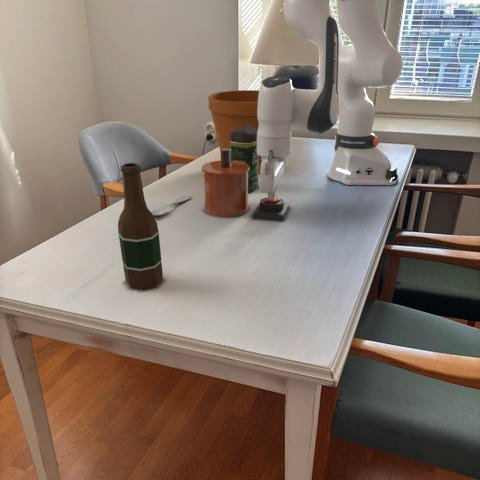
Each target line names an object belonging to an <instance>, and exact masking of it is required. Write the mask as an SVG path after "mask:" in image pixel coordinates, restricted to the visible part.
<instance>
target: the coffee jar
mask: <svg viewBox="0 0 480 480" xmlns="http://www.w3.org/2000/svg"><path fill="white" fill-rule="evenodd" d="M257 131H258V129H257V127H252V126H244V127H242V128H239V129H236V130H234V131H232V132H231V135H230V144H231V161H239V162H244V163H246V164H248V165H249V166H250V169H249V171H248V193H250V192H252V191H254V190H256V189H257V188H258V187H259V185H260V173H258V154H257Z"/></svg>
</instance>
